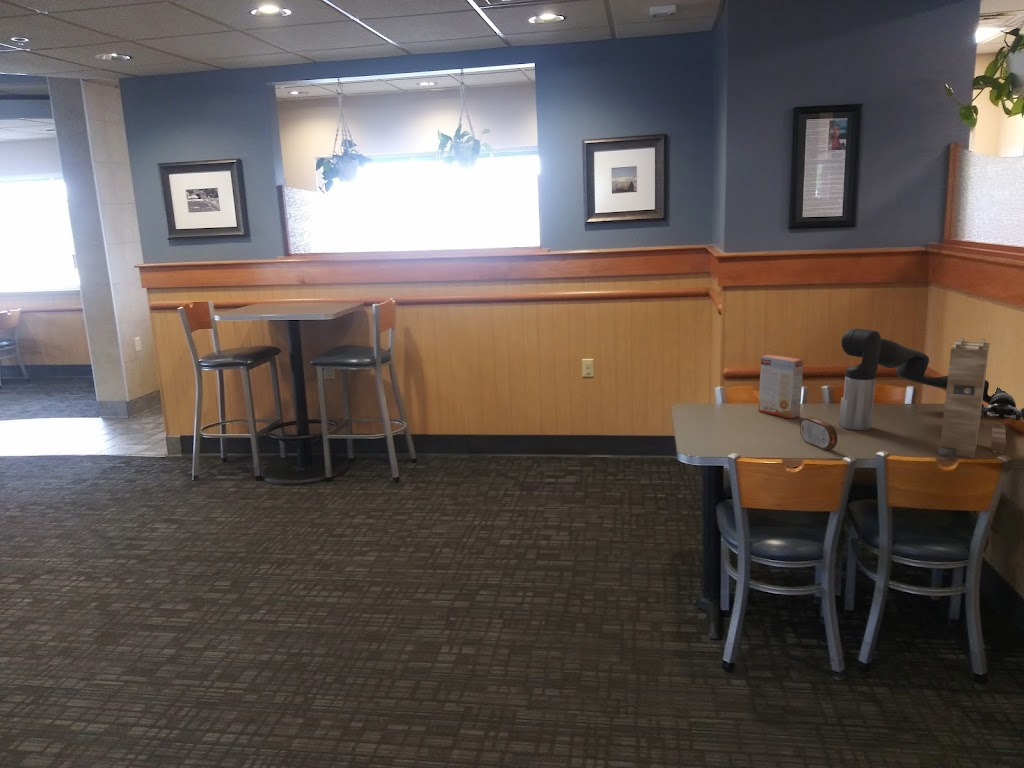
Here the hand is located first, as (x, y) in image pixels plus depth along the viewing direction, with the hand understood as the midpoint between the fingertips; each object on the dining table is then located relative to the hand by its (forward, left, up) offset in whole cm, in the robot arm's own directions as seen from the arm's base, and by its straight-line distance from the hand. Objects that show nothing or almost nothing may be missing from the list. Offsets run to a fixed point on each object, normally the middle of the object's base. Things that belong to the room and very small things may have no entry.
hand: (1001, 415), depth 249 cm
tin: (-62, -12, -7) cm, 63 cm away
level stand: (-21, -17, -7) cm, 28 cm away
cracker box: (-63, +27, -7) cm, 68 cm away
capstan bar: (-4, -8, -7) cm, 11 cm away
